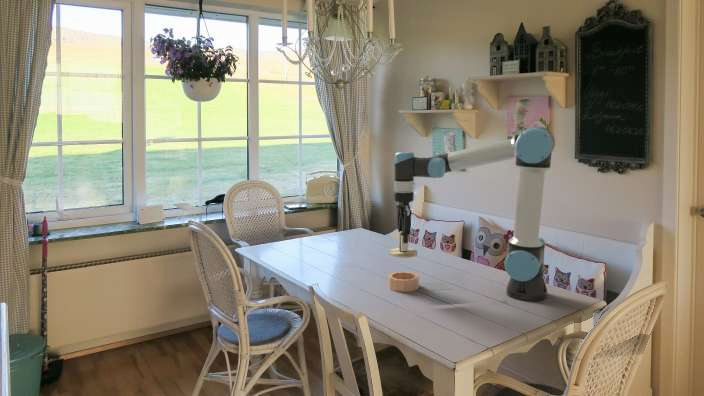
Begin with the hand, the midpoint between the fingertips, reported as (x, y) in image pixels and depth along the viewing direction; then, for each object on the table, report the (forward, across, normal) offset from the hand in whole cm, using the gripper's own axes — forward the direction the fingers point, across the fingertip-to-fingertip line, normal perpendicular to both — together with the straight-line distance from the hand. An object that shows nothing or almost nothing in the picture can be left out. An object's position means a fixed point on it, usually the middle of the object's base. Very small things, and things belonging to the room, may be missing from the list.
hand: (403, 249), depth 211 cm
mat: (+16, -2, -13) cm, 21 cm away
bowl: (+16, 0, 0) cm, 16 cm away
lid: (+2, 0, 0) cm, 2 cm away
